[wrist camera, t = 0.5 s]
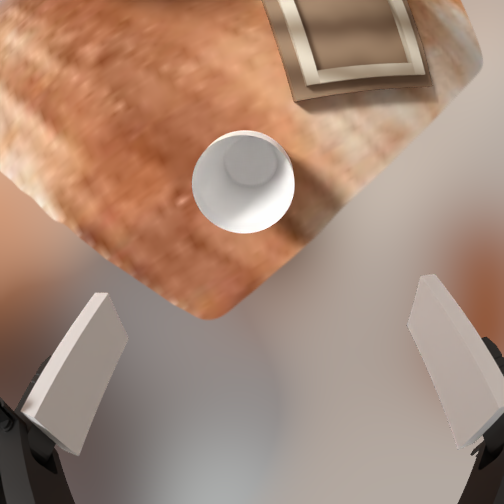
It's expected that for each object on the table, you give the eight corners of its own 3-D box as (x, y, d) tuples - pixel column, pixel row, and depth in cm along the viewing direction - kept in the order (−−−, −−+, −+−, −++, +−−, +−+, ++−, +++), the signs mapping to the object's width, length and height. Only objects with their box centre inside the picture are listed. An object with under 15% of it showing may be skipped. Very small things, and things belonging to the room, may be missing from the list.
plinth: (253, -20, 22) (252, -32, 19) (384, -28, 20) (394, -38, 16) (293, 101, 30) (297, 100, 27) (423, 86, 27) (437, 86, 24)
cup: (281, 120, 32) (289, 125, 21) (291, 191, 36) (301, 228, 25) (207, 132, 33) (179, 144, 22) (221, 200, 37) (202, 241, 26)
